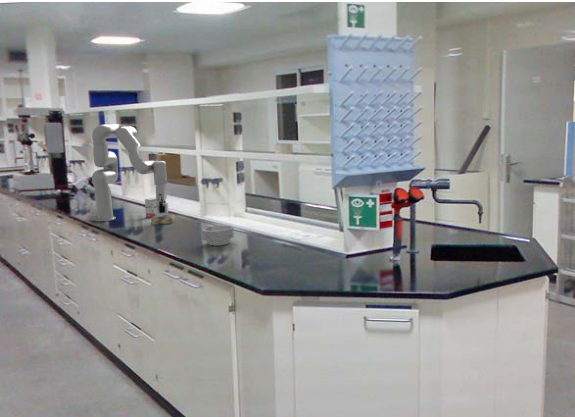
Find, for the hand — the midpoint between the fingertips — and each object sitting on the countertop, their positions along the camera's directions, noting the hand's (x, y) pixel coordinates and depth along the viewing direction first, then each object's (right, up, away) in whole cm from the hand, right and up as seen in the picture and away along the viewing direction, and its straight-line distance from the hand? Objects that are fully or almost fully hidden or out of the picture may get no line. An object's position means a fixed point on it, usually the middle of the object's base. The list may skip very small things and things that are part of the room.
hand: (163, 211), depth 336 cm
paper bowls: (+41, -16, -63) cm, 77 cm away
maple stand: (0, -6, +1) cm, 6 cm away
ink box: (-11, -4, +21) cm, 24 cm away
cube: (0, -1, 0) cm, 1 cm away
